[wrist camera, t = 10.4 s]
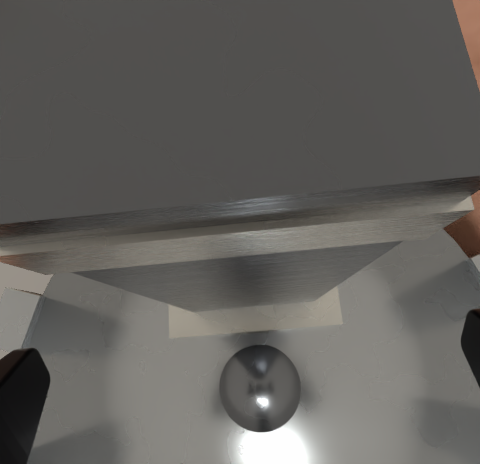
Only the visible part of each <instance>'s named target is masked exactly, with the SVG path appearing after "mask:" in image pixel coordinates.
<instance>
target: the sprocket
mask: <svg viewBox="0 0 480 464" xmlns="http://www.w3.org/2000/svg"><path fill="white" fill-rule="evenodd" d="M472 309H480V253H479V254H476V255H474V256H472V257H469V258H468V257H467V255H466V254H465V253H464V252H463V250H462V249H461V248H460V247H459V245H458V244H457V243H456V242H455V240H454V239H453V238H452V237H451V236H450V235H449V234H448V233H447V232H446V231H445V230H444V229H441V230H439V231H438V232H436V233H434V234H433V235H431V236H429V237H428V238H425V239H415V240H405V241H403V242H401V243H400V244H398V245H397V246H395V247H394V248H392V249H391V250H389V251H388V252H386V253H385V254H383V255H382V256H380V257H379V258H378V259H376V260H375V261H373V262H372V263H370V264H369V265H367V266H366V267H364V268H363V269H361V270H360V271H358V272H357V273H355V274H354V275H352V276H351V277H349V278H348V279H346V280H345V281H343V282H342V283H341V284H339V285H338V286H336V287H335V288H333V289H332V290H330V291H329V292H327V293H326V294H324V295H323V296H321V297H320V298H318V299H317V300H315V301H310V302H299V303H288V304H276V305H265V306H254V307H243V308H232V309H221V310H210V311H199V312H191V311H188V310H185V309H182V308H179V307H175V306H172V305H169V304H166V303H163V302H160V301H157V300H154V299H151V298H148V297H145V296H142V295H139V294H135V293H132V292H129V291H126V290H123V289H120V288H117V287H114V286H111V285H108V284H105V283H102V282H98V281H95V280H92V279H89V278H86V277H83V276H80V275H77V274H74V273H71V272H70V273H59V274H54V275H53V277H52V278H51V280H50V282H49V284H48V286H47V288H46V290H45V291H44V293H43V295H41V294H37V293H33V292H28V291H23V290H17V289H12V288H5V290H4V293H3V295H2V298H1V301H0V350H3V351H7V352H11V351H13V350H15V349H20V348H35V349H37V350H38V351H39V353H40V355H41V357H42V359H43V361H44V363H45V365H46V367H47V369H48V371H49V373H50V387H49V390H48V394H47V397H46V401H45V404H44V408H43V412H42V415H41V419H40V422H39V426H38V429H37V433H36V437H35V440H34V444H33V447H32V450H31V453H30V457H29V460H28V462H27V464H480V388H479V386H478V384H477V381H476V379H475V377H474V375H473V373H472V371H471V368H470V366H469V364H468V362H467V360H466V357H465V355H464V353H463V351H462V348H461V335H462V331H463V327H464V323H465V318H466V315H467V313H468V311H469V310H472Z"/></svg>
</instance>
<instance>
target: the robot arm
mask: <svg viewBox="0 0 480 464" xmlns="http://www.w3.org/2000/svg"><path fill="white" fill-rule="evenodd" d="M461 348H462V351H463V353H464V355H465V357H466V360H467V362H468V364H469V366H470V368H471V371H472V373H473V375H474V377H475V379H476V381H477V384H478V386H479V388H480V309H472V310H469V311H468V313H467V315H466V318H465V323H464V327H463V331H462V335H461ZM49 387H50V373H49V371H48V369H47V367H46V365H45V363H44V361H43V359H42V357H41V355H40V353H39V351H38V350H37V349H35V348H20V349H15V350H13V351H11V352H10V353H9V354H7V355H6V356H5V357H3V358H2V359H1V360H0V464H27V462H28V460H29V457H30V453H31V450H32V447H33V444H34V440H35V437H36V433H37V429H38V426H39V422H40V419H41V415H42V412H43V408H44V404H45V401H46V397H47V394H48V390H49Z"/></svg>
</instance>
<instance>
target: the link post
mask: <svg viewBox="0 0 480 464" xmlns="http://www.w3.org/2000/svg"><path fill="white" fill-rule="evenodd" d="M478 190H480V92H479V89H478V86H477V82H476V79H475V75H474V72H473V69H472V65H471V62H470V59H469V55H468V52H467V49H466V45H465V42H464V39H463V35H462V32H461V28H460V25H459V22H458V18H457V15H456V12H455V8H454V5H453V2H452V0H0V262H2V263H6V264H9V265H13V266H17V267H20V268H24V269H27V270H31V271H35V272H38V273H42V274H45V275H48V274H59V273H70V272H71V273H74V274H77V275H80V276H83V277H86V278H89V279H92V280H95V281H98V282H102V283H105V284H108V285H111V286H114V287H117V288H120V289H123V290H126V291H129V292H132V293H135V294H139V295H142V296H145V297H148V298H151V299H154V300H157V301H160V302H163V303H166V304H169V305H172V306H175V307H179V308H182V309H185V310H188V311H191V312H199V311H210V310H221V309H232V308H243V307H254V306H265V305H276V304H288V303H299V302H310V301H315V300H317V299H318V298H320V297H321V296H323V295H324V294H326V293H327V292H329V291H330V290H332V289H333V288H335V287H336V286H338V285H339V284H341V283H342V282H343V281H345V280H346V279H348V278H349V277H351V276H352V275H354V274H355V273H357V272H358V271H360V270H361V269H363V268H364V267H366V266H367V265H369V264H370V263H372V262H373V261H375V260H376V259H378V258H379V257H380V256H382V255H383V254H385V253H386V252H388V251H389V250H391V249H392V248H394V247H395V246H397V245H398V244H400V243H401V242H403V241H405V240H415V239H425V238H428V237H429V236H431V235H433V234H434V233H436V232H438V231H439V230H441V229H443V228H444V227H446V226H448V225H449V224H451V223H453V222H454V221H456V220H458V219H459V218H461V217H463V216H464V215H466V214H468V213H469V212H471V211H473V210H474V206H473V202H472V199H471V195H472V194H474V193H475V192H477V191H478Z"/></svg>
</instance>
